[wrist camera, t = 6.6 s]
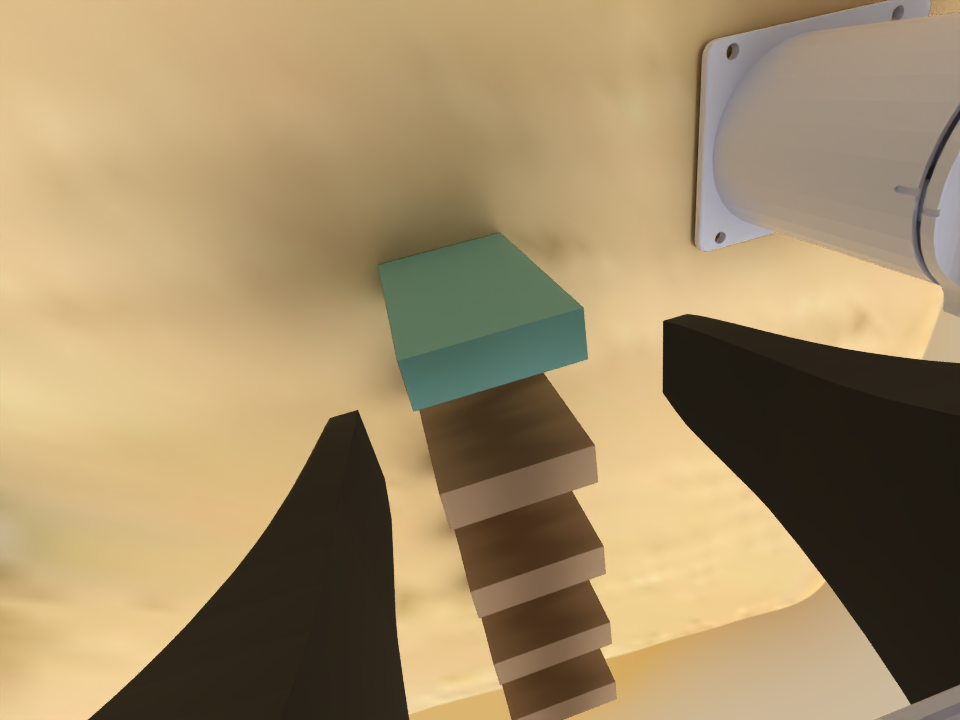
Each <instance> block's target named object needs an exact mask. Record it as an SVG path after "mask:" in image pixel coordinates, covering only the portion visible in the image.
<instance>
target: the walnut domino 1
mask: <svg viewBox="0 0 960 720" xmlns="http://www.w3.org/2000/svg"><path fill="white" fill-rule="evenodd" d="M419 411H420V415H421V419H422V423H423V428H424V432H425V436H426V440H427V444H428V449H429V453H430V457H431V461H432V465H433V470H434V474H435V478H436V482H437V486H438V490H439V495H440V498H441V501H442V504H443V507H444V510H445V513H446V517H447V520H448V523H449V526H450V529H451V530H454V529H457V528H460V527H463V526H466V525H469V524H472V523H475V522H478V521H481V520H484V519H487V518H490V517H494V516H497V515H500V514H503V513H506V512H509V511H512V510H515V509H518V508H521V507H524V506H527V505H530V504H533V503H536V502H539V501H542V500H545V499H548V498H551V497H554V496H557V495H561V494H564V493H567V492H570V491H573V490H576V489H579V488H582V487H585V486H588V485H591V484H594V483H597V482H598V476H597V464H596V452H595V445H594V443H593V442H592V440H591V439H590V438H589V436H588V435H587V433H586V432H585V431H584V429H583V428H582V426H581V425H580V424H579V422H578V421H577V419H576V418H575V417H574V415H573V414H572V412H571V411H570V410H569V408H568V407H567V405H566V404H565V403H564V401H563V400H562V398H561V397H560V396H559V394H558V393H557V391H556V390H555V388H554V387H553V386H552V384H551V383H550V381H549V380H548V379H547V377H546V376H545V374H544V373H540V374H537V375H533V376H530V377H527V378H523V379H520V380H517V381H513V382H510V383H507V384H503V385H500V386H497V387H493V388H490V389H487V390H483V391H480V392H477V393H473V394H470V395H467V396H463V397H460V398H457V399H453V400H450V401H447V402H443V403H440V404H437V405H434V406H430V407H427V408H424V409H420V410H419Z"/></svg>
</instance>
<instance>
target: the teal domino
mask: <svg viewBox="0 0 960 720" xmlns="http://www.w3.org/2000/svg"><path fill="white" fill-rule="evenodd" d="M378 269H379V274H380V279H381V284H382V289H383V294H384V299H385V303H386V308H387V313H388V318H389V323H390V328H391V333H392V338H393V343H394V348H395V353H396V358H397V362H398V365H399V368H400V371H401V375H402V378H403V381H404V384H405V387H406V390H407V393H408V396H409V399H410V402H411V405H412V409H413V412H414V411H417V410H420V409H424V408H427V407H430V406H434V405H437V404H440V403H443V402H447V401H450V400H453V399H457V398H460V397H463V396H467V395H470V394H473V393H477V392H480V391H483V390H487V389H490V388H493V387H497V386H500V385H503V384H507V383H510V382H513V381H517V380H520V379H523V378H527V377H530V376H533V375H537V374H540V373H543V372H547V371H550V370H553V369H557V368H560V367H563V366H567V365H570V364H573V363H577V362H580V361H583V360H587V359H588V354H587V343H586V332H585V320H584V309H583V307H582V306H581V305H580V304H579V303H578V302H577V301H576V300H574V299H573V298H572V297H571V296H570V295H569V294H568V293H567V292H566V291H564V290H563V289H562V288H561V287H560V286H559V285H558V284H557V283H556V282H554V281H553V280H552V279H551V278H550V277H549V276H548V275H547V274H546V273H544V272H543V271H542V270H541V269H540V268H539V267H538V266H537V265H536V264H534V263H533V262H532V261H531V260H530V259H529V258H528V257H527V256H526V255H524V254H523V253H522V252H521V251H520V250H519V249H518V248H517V247H516V246H514V245H513V244H512V243H511V242H510V241H509V240H508V239H507V238H506V237H504V236H503V235H502V234H501V233H496V234H492V235H489V236H485V237H481V238H477V239H473V240H470V241H466V242H462V243H458V244H454V245H451V246H447V247H443V248H439V249H435V250H432V251H428V252H424V253H420V254H416V255H413V256H409V257H405V258H401V259H397V260H394V261H390V262H386V263H382V264H379V265H378Z"/></svg>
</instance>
